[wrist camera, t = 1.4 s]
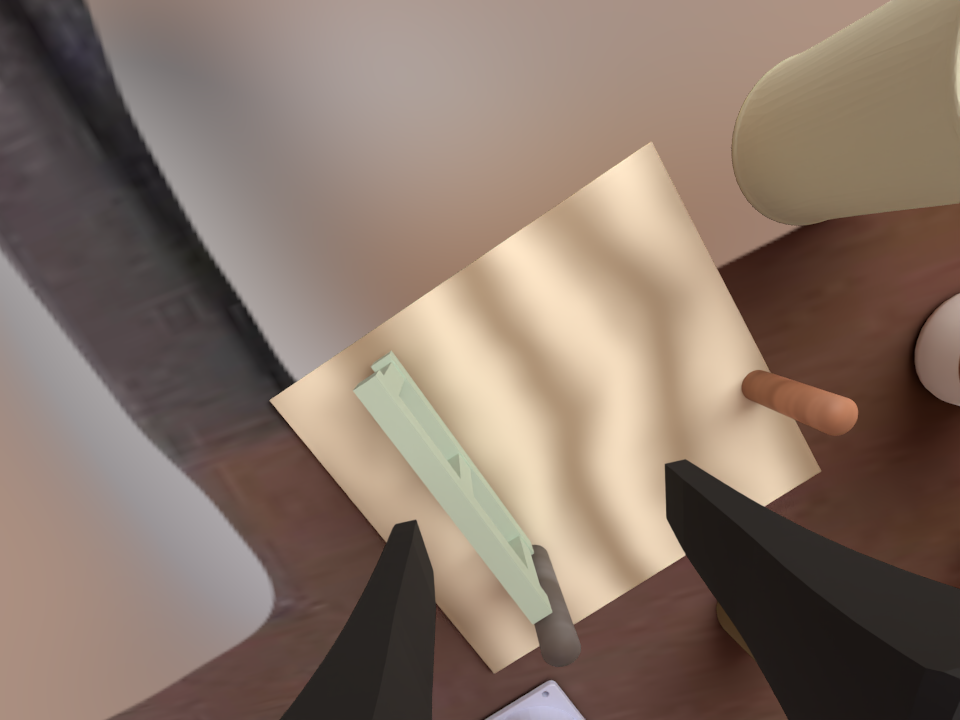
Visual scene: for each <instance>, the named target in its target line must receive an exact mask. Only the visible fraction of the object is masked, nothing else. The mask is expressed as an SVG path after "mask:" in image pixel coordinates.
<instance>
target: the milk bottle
mask: <svg viewBox="0 0 960 720" xmlns="http://www.w3.org/2000/svg"><path fill="white" fill-rule="evenodd" d="M915 367H916V372H917V375H918V377H919V379H920V381H921V383H922V384H923V385H924V387H925V388H926V389H927V390H929V391H930V392H931V393H932V394H933V395H934V396H936V397H937V398H939V399H941V400H943V401H945V402H948V403H951V404H955V405H958V406H960V293H959V294H956V295H954V296H953V297H951V298H950V299H948V300H946V301H945V302H943V303H942V304H941V305H940V306H939V307H938V308H937V309H935V311H934V312H933V313H932V314H931V316H930V317H929V318H928V319H927V321H926V323H925V324H924V326H923V328H922V329H921V332H920V334H919V337H918V339H917V343H916V348H915Z"/></svg>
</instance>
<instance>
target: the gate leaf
mask: <svg viewBox="0 0 960 720" xmlns="http://www.w3.org/2000/svg"><path fill="white" fill-rule="evenodd" d="M371 368H372V369H373V371H374V372H375V373H373V374H372V375H370V376H369V377H367V378H366V379H364V380H363V381H361V382H360V383H359V384H358V385H357V386H356V387H355V389H354V390H353V392H354V393H355V394H356V396H357V397H358V398H359V399H360V401H361V402H362V403H363V405H364V406H365V407H366V409H367V410H368V411H369V412H370V414H371V415H372V416H373V418H374V419H375V420H376V422H377V423H378V424H379V425H380V427H381V428H382V429H383V431H384V432H385V433H386V435H387V436H388V437H389V438H390V440H391V441H392V442H393V444H394V445H395V446H396V448H397V449H398V450H399V451H400V453H401V454H402V455H403V457H404V458H405V459H406V461H407V462H408V463H409V464H410V466H411V467H412V468H413V470H414V471H415V472H416V474H417V475H418V476H419V477H420V479H421V480H422V481H423V483H424V484H425V485H426V487H427V488H428V489H429V490H430V492H431V493H432V494H433V496H434V497H435V498H436V500H437V501H438V502H439V503H440V505H441V506H442V507H443V509H444V510H445V511H446V513H447V514H448V515H449V516H450V518H451V519H452V520H453V522H454V523H455V524H456V526H457V527H458V528H459V530H460V531H461V532H462V533H463V535H464V536H465V537H466V539H467V540H468V541H469V543H470V544H471V545H472V546H473V548H474V549H475V550H476V552H477V553H478V554H479V556H480V557H481V558H482V559H483V561H484V562H485V563H486V565H487V566H488V567H489V569H490V570H491V571H492V572H493V574H494V575H495V576H496V578H497V579H498V580H499V582H500V583H501V584H502V585H503V587H504V588H505V589H506V591H507V592H508V593H509V595H510V596H511V597H512V598H513V600H514V601H515V602H516V604H517V605H518V606H519V608H520V609H521V610H522V611H523V613H524V614H525V615H526V617H527V618H528V619H529V621H530V622H531V623H532V624H535V623H536V622H538V621H540V620H541V619H543V618H545V617H546V616H548V615H549V614H551V613H553V612H552V609H551V606H550V602H549V599H548V596H547V594H546V593H545V592H544V590H543V589H542V588H541V586H540V583H539V580H538V577H537V573H536V570H535V566H534V563H533V560H532V556H531V555H532V554H534V551H533V548H532V544H531V541H530V540H529V539H528V537H527V536H526V534H525V533H524V532H523V530H522V529H521V528H520V526H519V525H518V523H517V522H516V521H515V519H514V518H513V517H512V515H511V514H510V513H509V511H508V510H507V508H506V507H505V506H504V504H503V503H502V502H501V500H500V499H499V497H498V496H497V495H496V493H495V492H494V491H493V489H492V488H491V486H490V485H489V484H488V482H487V481H486V480H485V478H484V477H483V475H482V474H481V473H480V471H479V470H478V469H477V467H476V466H475V464H474V463H473V462H472V460H471V459H470V458H469V456H468V455H467V453H466V452H465V451H464V449H463V448H462V447H461V445H460V444H459V442H458V441H457V440H456V438H455V437H454V436H453V434H452V433H451V431H450V430H449V429H448V427H447V426H446V425H445V423H444V422H443V421H442V419H441V418H440V416H439V415H438V414H437V412H436V411H435V410H434V408H433V407H432V405H431V404H430V403H429V401H428V400H427V399H426V397H425V396H424V394H423V393H422V392H421V390H420V389H419V388H418V386H417V385H416V383H415V382H414V381H413V379H412V378H411V377H410V375H409V374H408V372H407V371H406V370H405V368H404V367H403V366H402V364H401V363H400V361H399V360H398V359H397V357H396V356H395V355H394V353H393V352H392V350H391V351H390V352H389V353H387V354H386V355H384V356H383V357H381V358H380V359H378V360H377V361H375V362H374V363H373V364H372V366H371Z"/></svg>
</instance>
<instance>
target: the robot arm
mask: <svg viewBox="0 0 960 720" xmlns="http://www.w3.org/2000/svg"><path fill="white" fill-rule="evenodd" d="M665 493H666V519H667V521H668V523H669V525H670V526H671V528H672V530H673V532H674V534H675V536H676V538H677V540H678V542H679V544H680V545H681V547H682V549H683V551H684V553H685V554H686V556H687V557H688V559H689V560H690V562H691V563H692V565H693V566H694V567H695V569H696V570H697V572H698V573H699V575H700V576H701V578H702V579H703V581H704V582H705V584H706V585H707V586H708V588H709V589H710V591H711V592H712V594H713V595H714V597H715V598H716V599H717V601H718V602H719V604H720V605H721V607H722V608H723V610H724V611H725V613H726V614H727V615H728V617H729V618H730V620H731V621H732V623H733V624H734V626H735V627H736V629H737V630H738V632H739V633H740V635H741V636H742V638H743V640H744V641H745V643H746V644H747V646H748V648H749V650H750V651H751V653H752V655H753V657H754V658H755V660H756V662H757V664H758V665H759V667H760V669H761V671H762V672H763V674H764V676H765V678H766V679H767V681H768V683H769V685H770V687H771V688H772V690H773V692H774V694H775V696H776V698H777V699H778V701H779V703H780V705H781V707H782V709H783V710H784V712H785V714H786V716H787V718H788V720H960V589H958V588H955V587H952V586H949V585H946V584H943V583H940V582H937V581H934V580H931V579H928V578H925V577H922V576H919V575H916V574H914V573H911V572H908V571H905V570H902V569H900V568H897V567H894V566H892V565H889V564H887V563H884V562H881V561H879V560H876V559H874V558H871V557H869V556H866V555H864V554H861V553H859V552H856V551H854V550H852V549H849V548H847V547H845V546H842V545H840V544H838V543H836V542H834V541H831V540H829V539H827V538H825V537H823V536H820V535H818V534H816V533H814V532H812V531H810V530H808V529H806V528H804V527H802V526H800V525H798V524H796V523H794V522H792V521H790V520H788V519H786V518H784V517H782V516H780V515H779V514H777V513H775V512H773V511H771V510H769V509H768V508H766V507H764V506H762V505H760V504H759V503H757V502H755V501H753V500H752V499H750V498H748V497H747V496H745V495H743V494H741V493H740V492H738V491H736V490H735V489H733V488H731V487H730V486H728V485H727V484H725V483H723V482H722V481H720V480H718V479H717V478H715V477H714V476H712V475H710V474H709V473H707V472H706V471H704V470H702V469H701V468H699V467H698V466H696V465H694V464H693V463H691V462H689V461H688V460H686V459H684V460H680V461H675V462H671V463H666V464H665ZM435 618H436V601H435V585H434V571H433V568H432V565H431V562H430V559H429V556H428V553H427V550H426V547H425V544H424V541H423V538H422V535H421V532H420V529H419V526H418V523H417V520H412V521H407V522H403V523H398V524H395V525H394V527H393V528H392V530H391V533H390V535H389V538H388V540H387V543H386V545H385V547H384V550H383V552H382V554H381V556H380V559H379V561H378V563H377V565H376V567H375V569H374V571H373V573H372V576H371V578H370V580H369V582H368V584H367V586H366V588H365V590H364V592H363V594H362V596H361V598H360V599H359V601H358V603H357V605H356V607H355V609H354V610H353V612H352V614H351V616H350V618H349V619H348V621H347V623H346V625H345V626H344V628H343V630H342V632H341V633H340V635H339V637H338V638H337V640H336V641H335V643H334V645H333V646H332V648H331V649H330V651H329V652H328V654H327V655H326V657H325V659H324V660H323V662H322V663H321V665H320V666H319V667H318V669H317V670H316V672H315V673H314V675H313V676H312V677H311V679H310V680H309V682H308V683H307V684H306V686H305V687H304V689H303V690H302V692H301V693H300V694H299V696H298V697H297V698H296V700H295V701H294V702H293V704H292V705H291V706H290V707H289V709H288V710H287V711H286V712H285V714H284V715H283V716H282V717H281V719H280V720H432V687H433V664H434V642H435ZM545 691H546V692H545ZM485 720H585V719H584V717H583V716H582V715H581V714H580V712H579V711H578V710H577V708H576V707H575V706H574V705H573V703H572V702H571V701H570V700H569V698H568V697H567V696H566V694H565V693H564V692H563V691H562V689H561V688H560V687H559V686H558V684H557V683H556V682H555V681H552V680H549V681H547V682H545V683H543V684H542V685H540V686H539V687H537V688H535V689H534V690H532V691H530V692H529V693H527V694H526V695H524V696H522V697H521V698H519V699H517V700H516V701H514V702H513V703H511V704H509V705H508V706H506V707H504V708H503V709H501V710H500V711H498V712H496V713H495V714H493V715H491V716H490V717H488V718H487V719H485Z"/></svg>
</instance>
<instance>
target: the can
mask: <svg viewBox="0 0 960 720" xmlns="http://www.w3.org/2000/svg"><path fill="white" fill-rule="evenodd" d="M732 164H733V169H734V174H735V177H736V180H737V183H738V185H739V187H740V189H741V191H742V193H743V194H744V196H745V197H746V199H747V201H749V203H750V204H751V205H752V206H753V207H754V208H755V209H756V210H757V211H758V212H760V213H761V214H763V215H764V216H766V217H767V218H769V219H771V220H774V221H776V222H779V223H783V224H788V225H798V226H799V225H811V224H815V223H819V222H823V221H826V220H829V219H836V218H843V217H851V216H858V215H866V214H874V213H881V212H889V211H897V210H906V209H915V208H923V207H932V206H940V205H949V204H957V203H960V0H891V1H889V2H888V3H886V4H885V5H883V6H881V7H880V8H878V9H876V10H875V11H873V12H871V13H870V14H868V15H866V16H865V17H863V18H861V19H860V20H858V21H856V22H855V23H853V24H851V25H849V26H848V27H846V28H844V29H843V30H841V31H839V32H838V33H836V34H834V35H832V36H831V37H829V38H827V39H826V40H824V41H822V42H820V43H819V44H817V45H815V46H813V47H812V48H810V49H808V50H806V51H804V52H803V53H800V54H797V55H794V56H792V57H790V58H788V59H786V60H784V61H782V62H781V63H779V64H777V65H776V66H775V67H773V68H772V69H771V70H770V71H768V72H767V73H766V74H765V75H764V76H763V77H762V78H761V79H760V80H759V81H758V82H757V83H756V85H755V86H754V87H753V89H752V90H751V91H750V93H749V95H748V96H747V98H746V99H745V101H744V103H743V105H742V107H741V109H740V111H739V114H738V117H737V119H736V123H735V127H734V131H733V138H732Z"/></svg>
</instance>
